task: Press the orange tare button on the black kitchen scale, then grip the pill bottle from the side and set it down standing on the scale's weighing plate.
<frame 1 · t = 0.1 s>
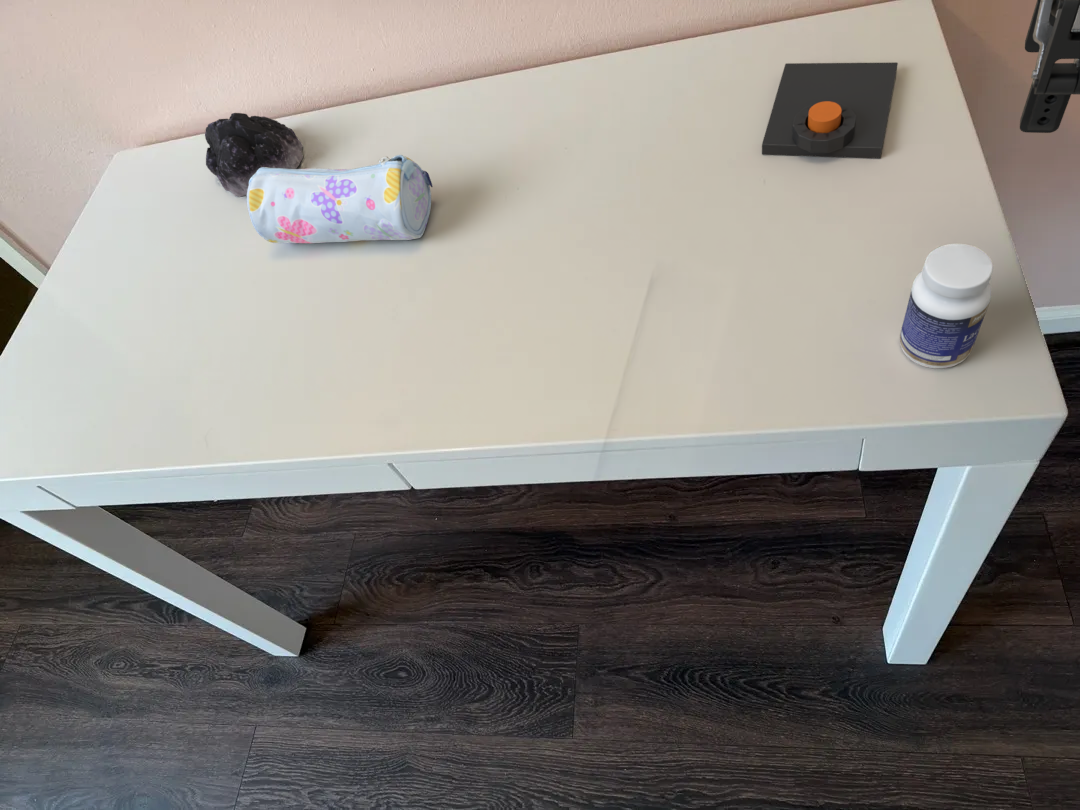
hand: (1039, 87, 52), 20 cm above the table, tool pointing down, fingers open, 8 cm apart
pill bottle: (934, 345, 66), on the table
crystal cluster: (263, 168, 106), on the table
tare button: (824, 117, 80), point 3 cm above the table, slide at 0.1 cm
pencil case: (358, 232, 93), on the table
scale: (829, 113, 85), on the table
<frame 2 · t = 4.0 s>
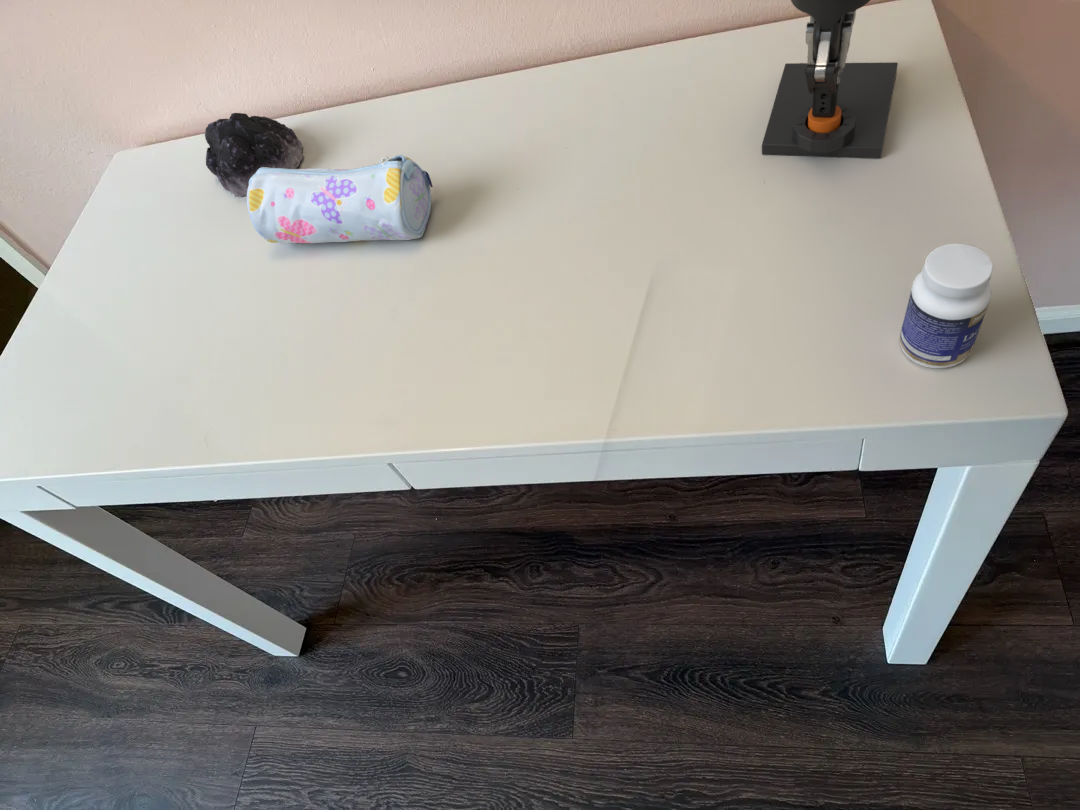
hand: (824, 112, 79), 4 cm above the table, tool pointing down, fingers closed
tare button: (824, 119, 80), point 3 cm above the table, slide at -0.1 cm, touching gripper
everything else where it was.
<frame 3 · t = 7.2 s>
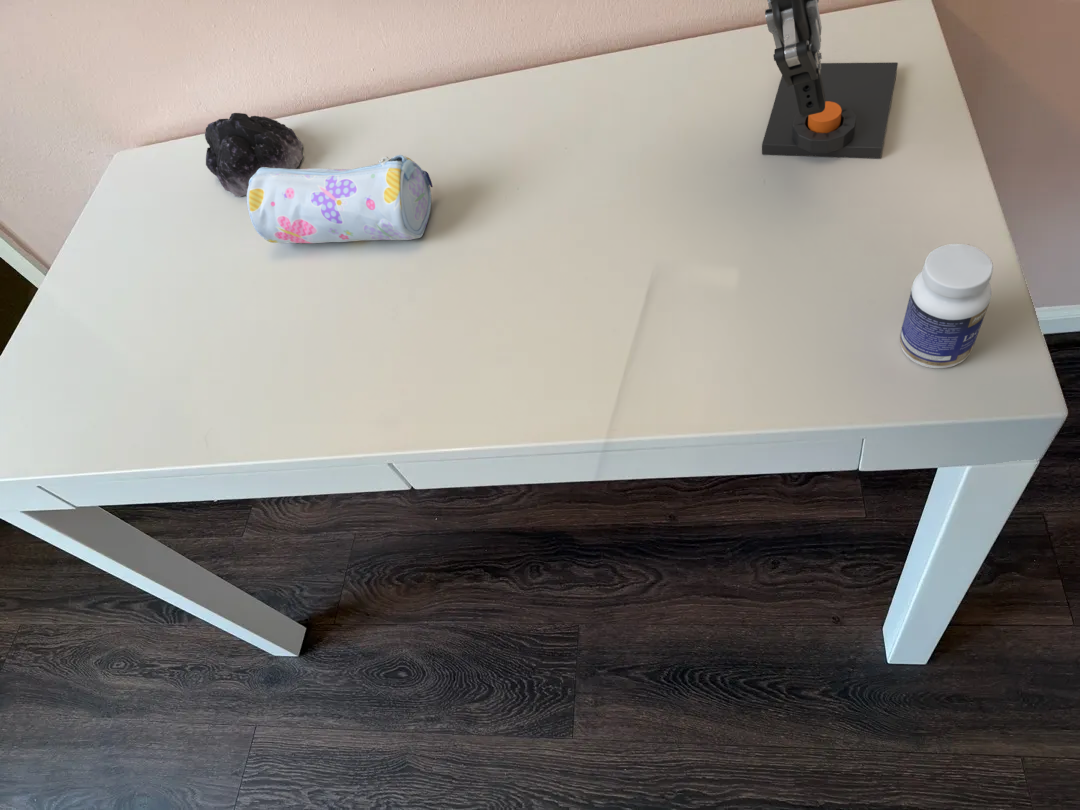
hand: (813, 109, 70), 11 cm above the table, tool pointing down, fingers closed
tare button: (824, 117, 80), point 3 cm above the table, slide at 0.1 cm
everything else where it was.
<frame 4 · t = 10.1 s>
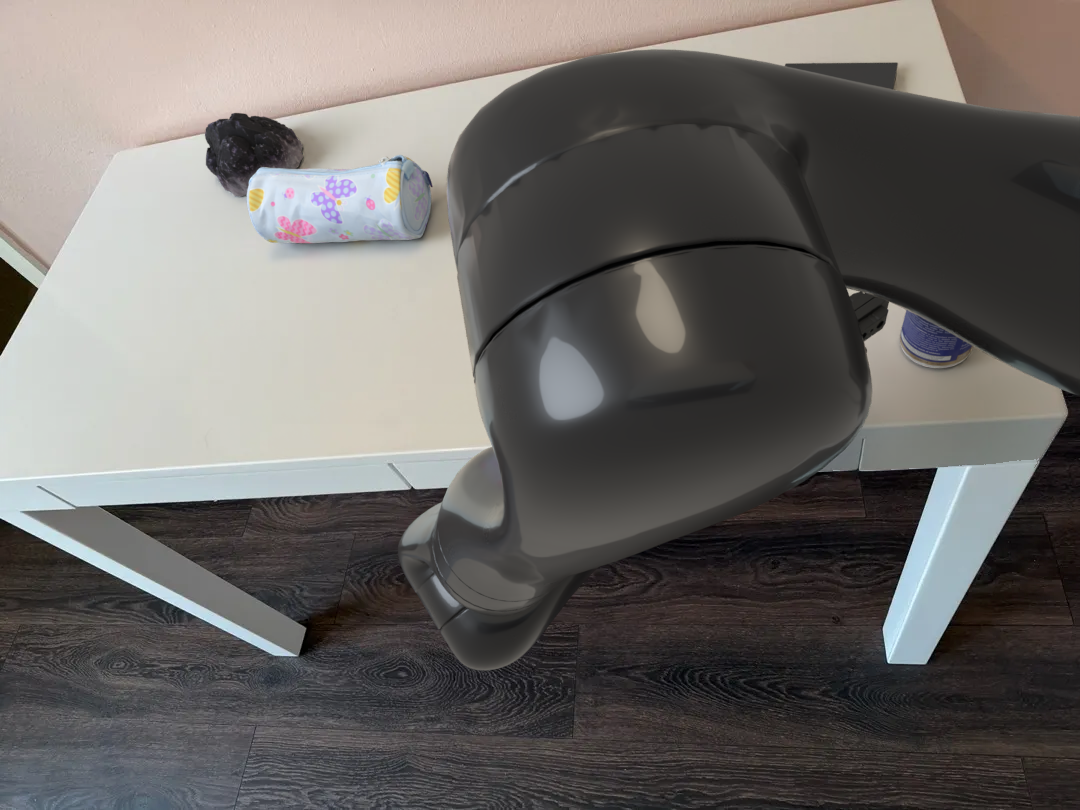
hand: (878, 303, 54), 13 cm above the table, tool horizontal, fingers closed
nothing on the table moved.
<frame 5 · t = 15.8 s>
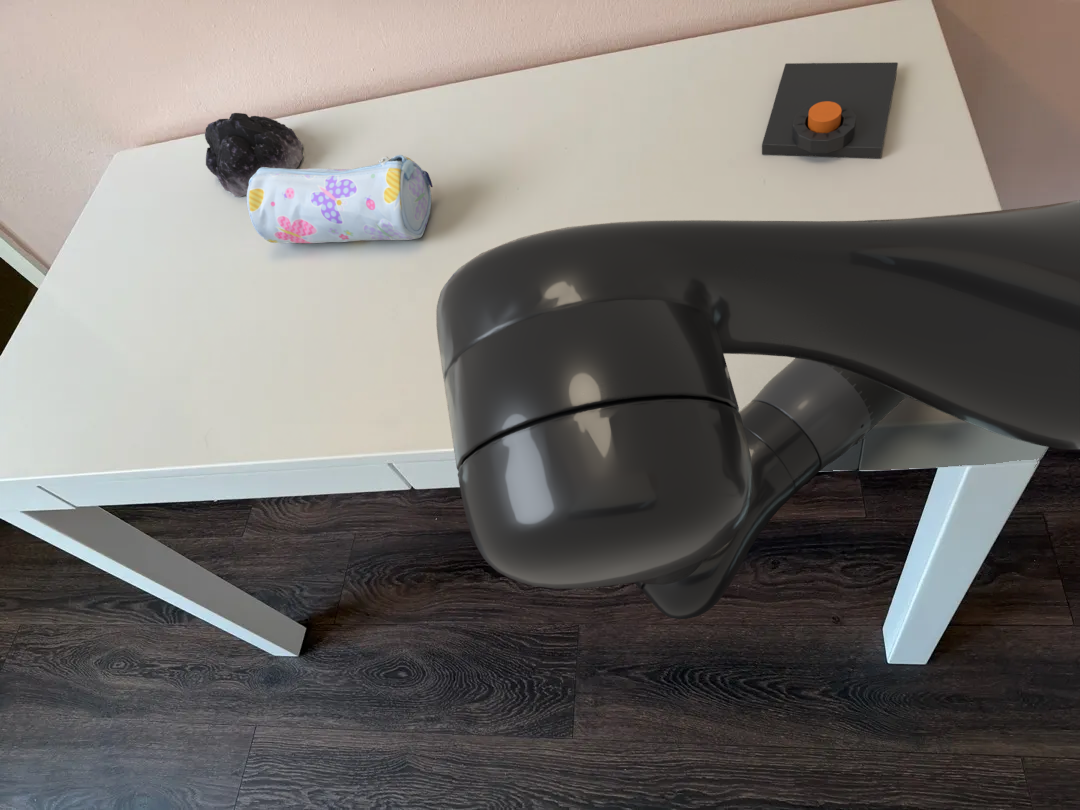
hand: (972, 267, 61), 8 cm above the table, tool horizontal, fingers closed on pill bottle, 5 cm apart
pill bottle: (934, 345, 66), on the table, touching gripper
everything else where it was.
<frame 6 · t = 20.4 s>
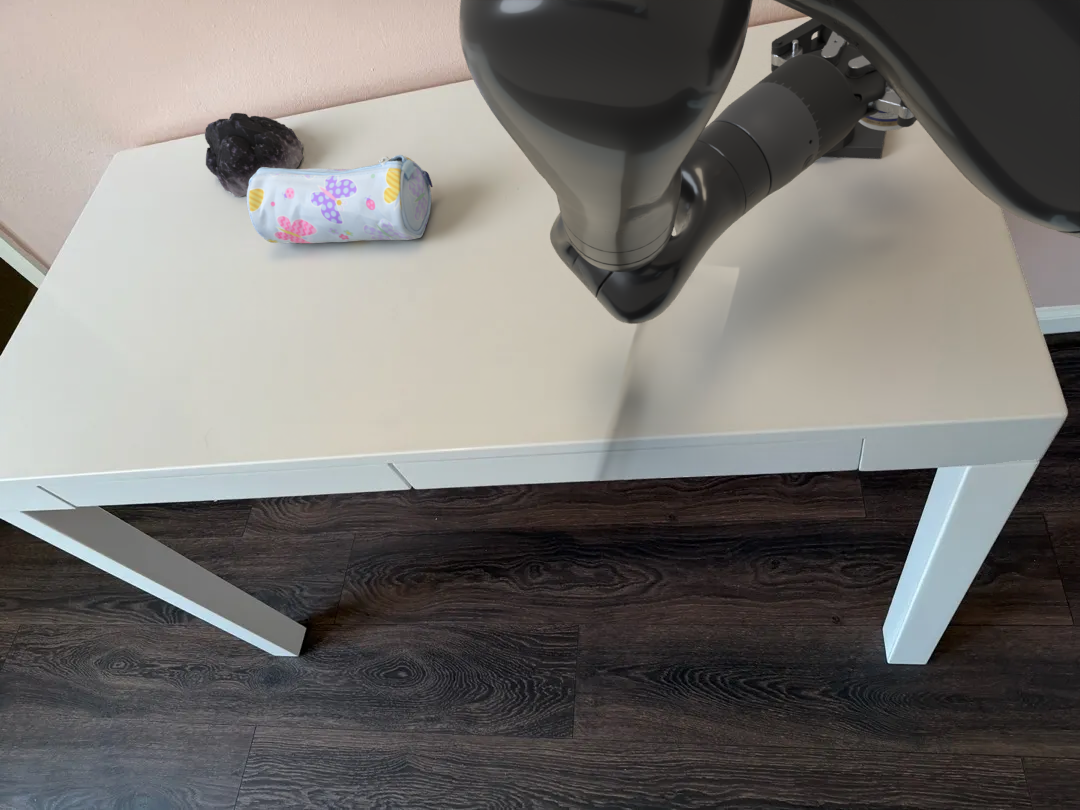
hand: (920, 17, 63), 18 cm above the table, tool horizontal, fingers closed on pill bottle, 5 cm apart
pill bottle: (887, 114, 68), point 10 cm above the table, touching gripper
everything else where it was.
when the fingers open (9 cm above the table, at t = 25.4 s): pill bottle stays where it is, resting on scale.
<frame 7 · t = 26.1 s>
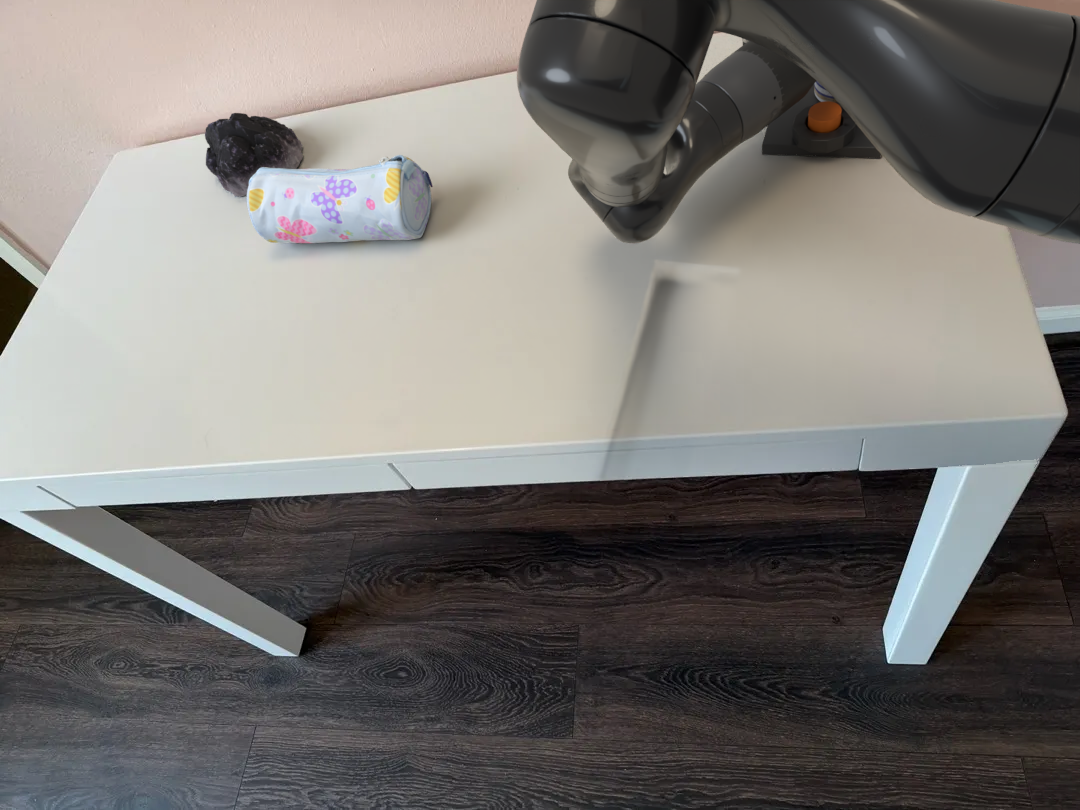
hand: (864, 2, 77), 10 cm above the table, tool horizontal, fingers open, 8 cm apart
pill bottle: (841, 93, 84), point 1 cm above the table, touching scale
everything else where it was.
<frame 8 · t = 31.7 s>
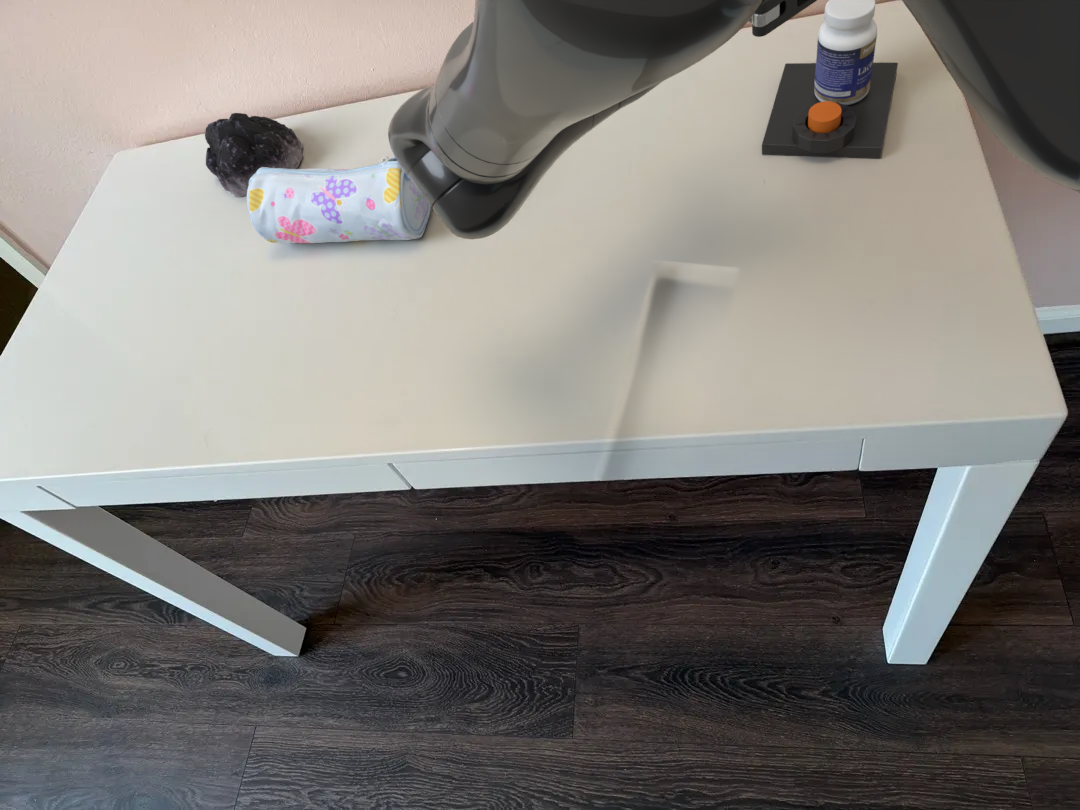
nothing on the table moved.
at the end: tare button pushed in 0.9 cm at the most during the clip, back to where it started at the end; pill bottle inside the target area on the scale (2.0 cm from its centre), point 1.2 cm above the scale's base; pill bottle tilted 0° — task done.
